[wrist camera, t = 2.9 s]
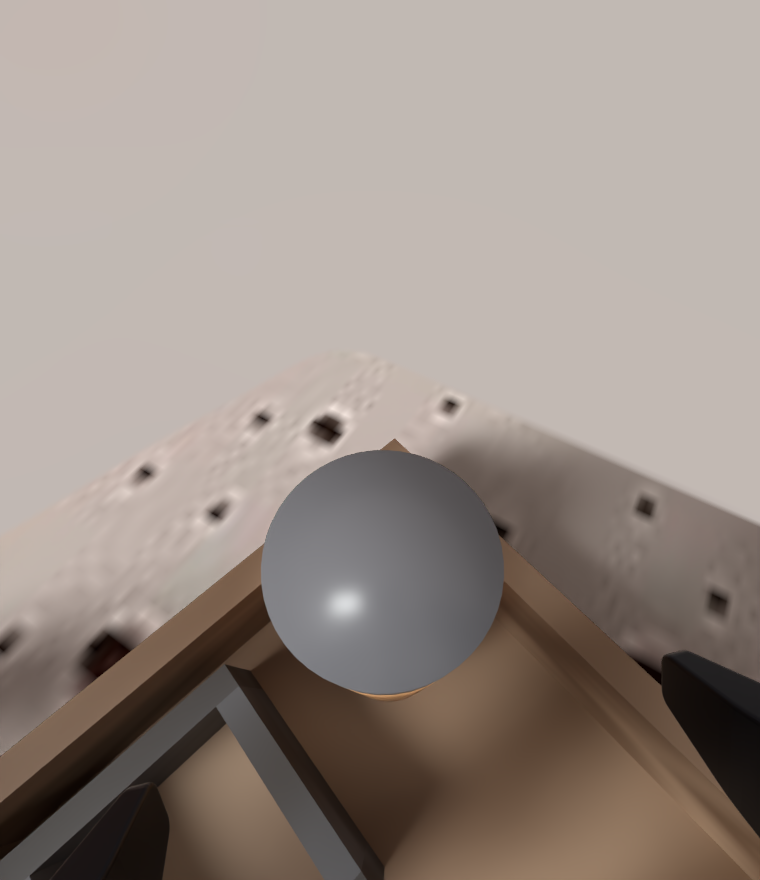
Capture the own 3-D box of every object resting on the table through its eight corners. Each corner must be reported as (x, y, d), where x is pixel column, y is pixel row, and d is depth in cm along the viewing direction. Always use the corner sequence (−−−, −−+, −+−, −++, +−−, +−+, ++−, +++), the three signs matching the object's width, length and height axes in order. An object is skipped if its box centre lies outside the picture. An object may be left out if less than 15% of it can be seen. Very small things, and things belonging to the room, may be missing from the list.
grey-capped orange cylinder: (465, 643, 17) (554, 563, 8) (385, 729, 16) (371, 762, 6) (391, 563, 19) (388, 412, 9) (312, 636, 17) (214, 549, 8)
